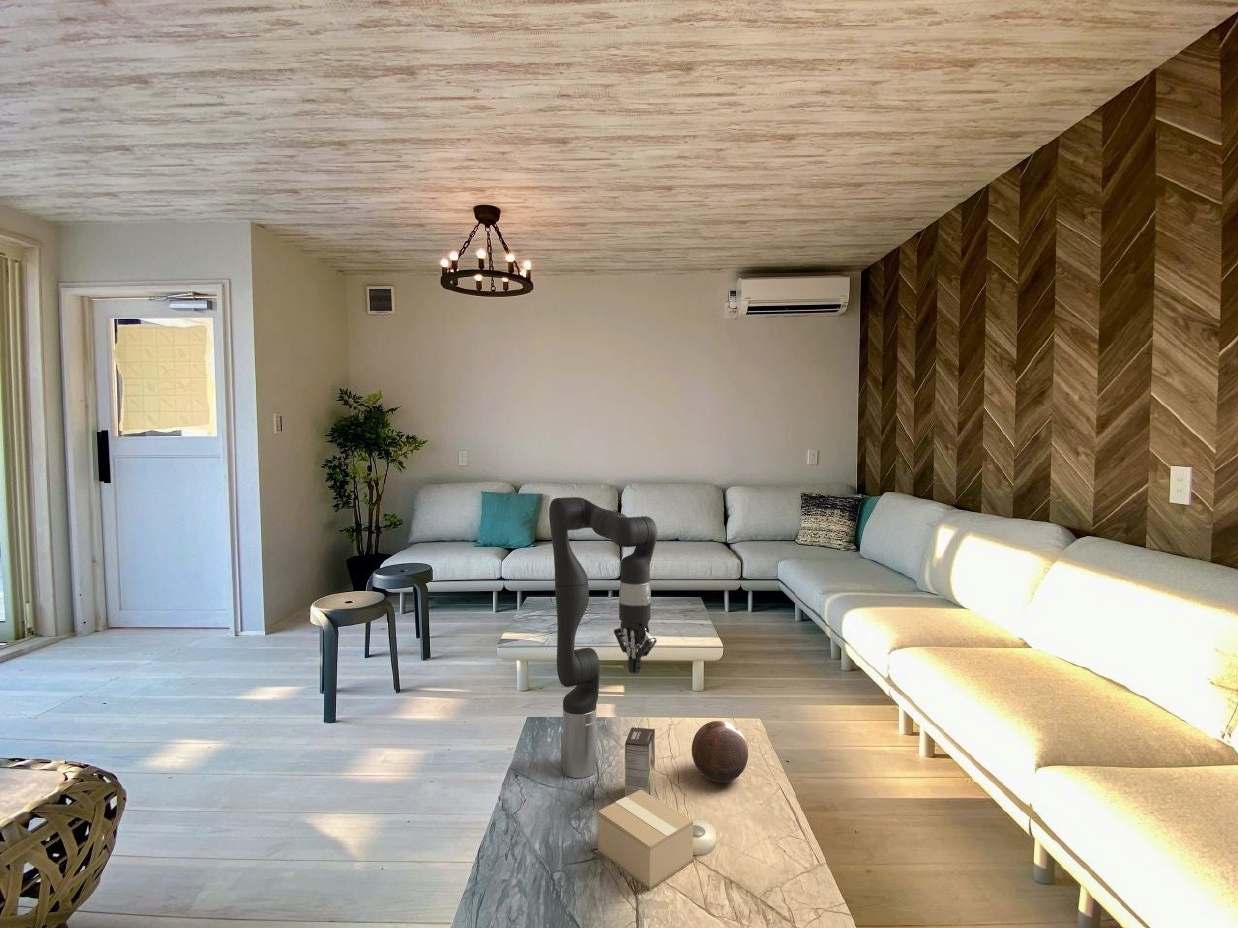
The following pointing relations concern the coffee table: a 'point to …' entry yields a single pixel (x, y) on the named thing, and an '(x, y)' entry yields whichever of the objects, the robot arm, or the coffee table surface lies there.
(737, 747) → the wooden sphere
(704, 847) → the cream domed button
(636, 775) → the coffee box
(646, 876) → the box
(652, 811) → the lid
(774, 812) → the coffee table surface
